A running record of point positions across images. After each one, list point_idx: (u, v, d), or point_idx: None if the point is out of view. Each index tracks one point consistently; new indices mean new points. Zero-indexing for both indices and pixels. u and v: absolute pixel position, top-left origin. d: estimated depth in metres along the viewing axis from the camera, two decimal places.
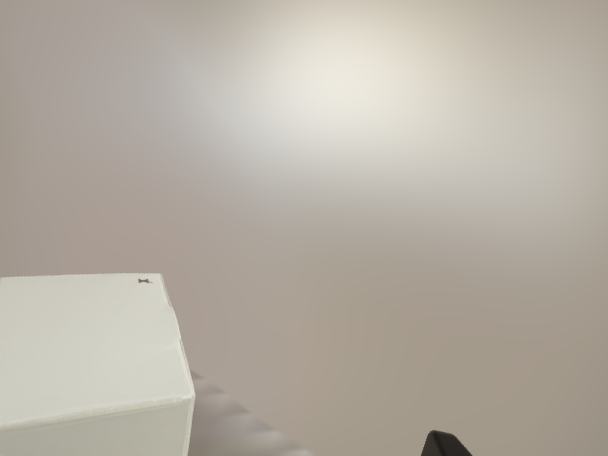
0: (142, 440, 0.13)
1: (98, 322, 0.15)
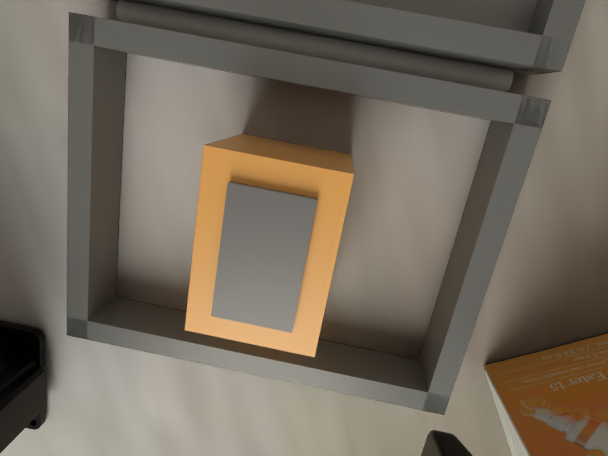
0: None
1: None
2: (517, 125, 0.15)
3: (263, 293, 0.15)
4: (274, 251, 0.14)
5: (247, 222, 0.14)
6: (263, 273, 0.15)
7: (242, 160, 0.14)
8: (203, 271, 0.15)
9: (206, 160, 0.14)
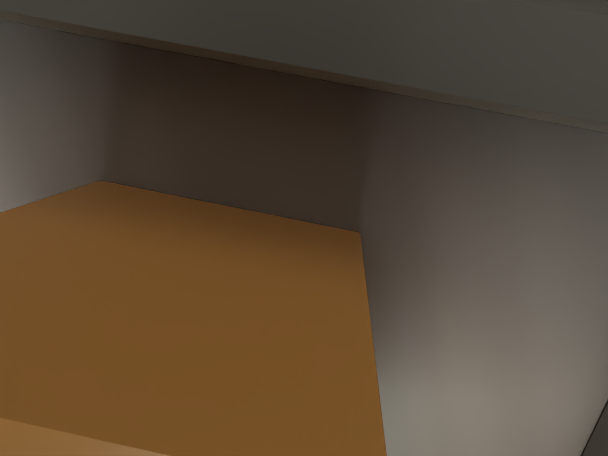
0: None
1: None
2: None
3: None
4: None
5: None
6: None
7: None
8: None
9: None
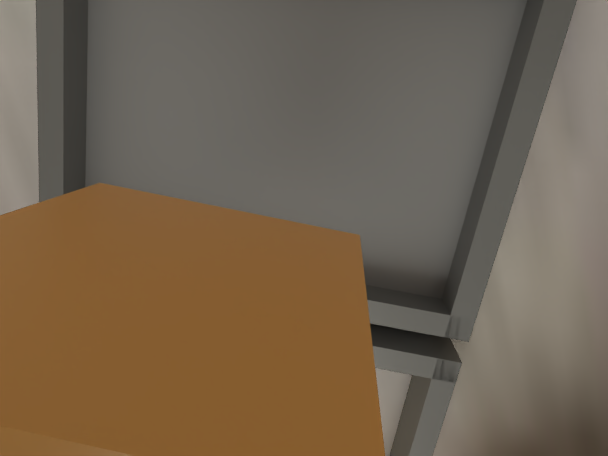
0: None
1: None
2: (434, 380, 0.18)
3: None
4: None
5: None
6: None
7: None
8: None
9: None
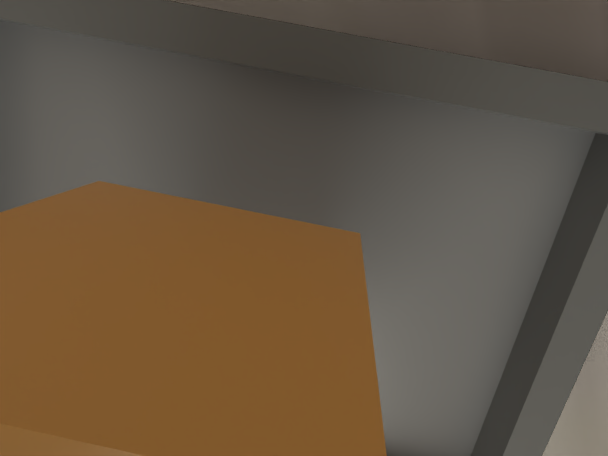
0: None
1: None
2: None
3: None
4: None
5: None
6: None
7: None
8: None
9: None
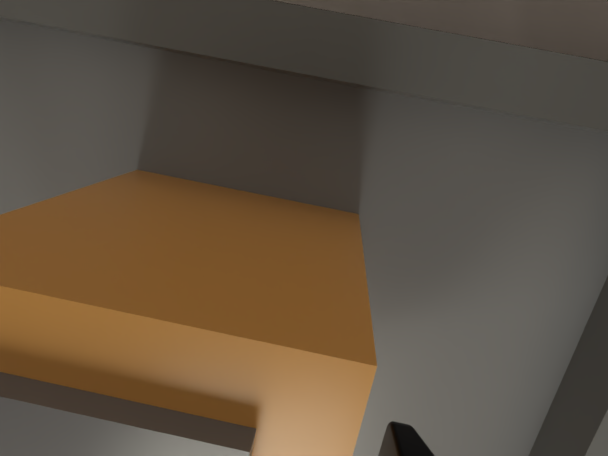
0: None
1: None
2: None
3: None
4: None
5: None
6: None
7: (0, 308, 0.04)
8: None
9: None
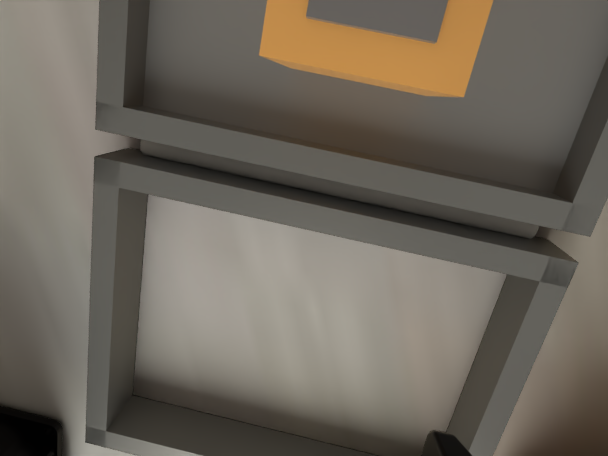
0: None
1: None
2: (542, 283, 0.15)
3: None
4: None
5: None
6: None
7: None
8: None
9: None
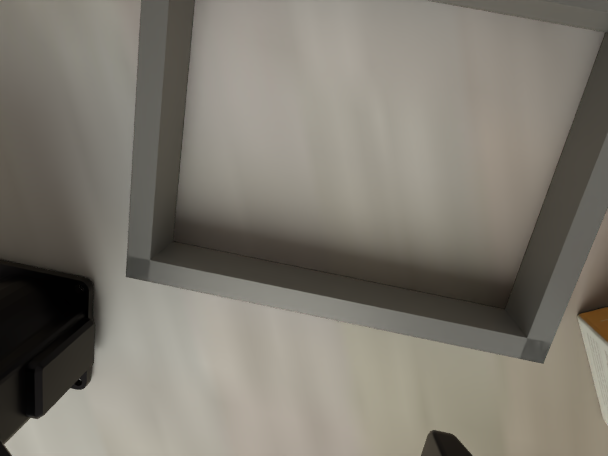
0: None
1: None
2: None
3: None
4: None
5: None
6: None
7: None
8: None
9: None
